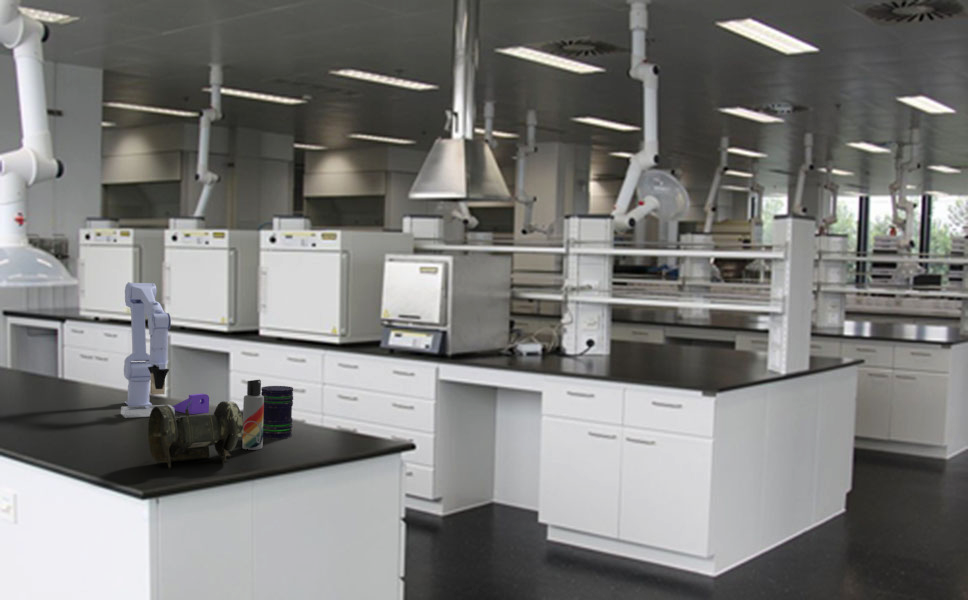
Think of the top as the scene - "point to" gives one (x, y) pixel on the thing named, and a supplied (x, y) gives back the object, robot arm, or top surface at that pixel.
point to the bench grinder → (193, 433)
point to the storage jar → (277, 411)
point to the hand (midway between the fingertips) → (157, 388)
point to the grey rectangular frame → (139, 411)
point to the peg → (153, 388)
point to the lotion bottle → (253, 416)
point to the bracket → (194, 404)
